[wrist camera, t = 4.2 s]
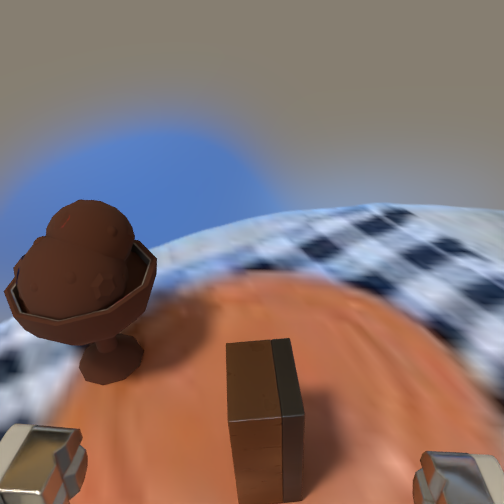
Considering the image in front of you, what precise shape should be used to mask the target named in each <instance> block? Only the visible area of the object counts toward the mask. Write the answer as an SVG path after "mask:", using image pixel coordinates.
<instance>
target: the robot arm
mask: <svg viewBox="0 0 504 504" xmlns="http://www.w3.org/2000/svg"><path fill="white" fill-rule="evenodd" d="M82 438H83V437H82V434H81V431H80V429H76V428H64V427H51V426H39V425H28V424H14V425H13V426H12V427H11V428H10V429H9V430H8V431H7V432H6V434H5V435H4V437H3V438H2V440H1V442H0V504H70V502H69V500H70V499H71V498H73V497H74V496H75V495H76V494H77V493H78V492H80V489H81V487H82V484H83V482H84V479H85V475H86V470H87V466H88V456H87V452H86V449H84V448H83V447H82V446H81V445H80V443H81V441H82ZM420 462H421V465H422V468H421V469H420V470H418V471H417V472H415V476H414V479H413V499H414V504H504V473H503V471H502V468H501V466H500V464H499V462H498V460H497V459H496V458H495V457H494V456H492V455H482V454H468V453H456V452H436V451H425V452H424V453H423V454H422V456H421V459H420Z"/></svg>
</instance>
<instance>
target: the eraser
mask: <svg viewBox="0 0 504 504" xmlns="http://www.w3.org/2000/svg"><path fill="white" fill-rule="evenodd" d="M226 369H227V410H228V427H229V434H230V442H231V449H232V457H233V464H234V472H235V479H236V487H237V494H238V502H239V504H275V503H283V502H295V501H301V500H302V481H303V453H304V425H305V412H304V407H303V402H302V397H301V392H300V387H299V382H298V377H297V372H296V367H295V362H294V357H293V351H292V346H291V341H290V338H285V339H273V340H260V341H248V342H236V343H226Z"/></svg>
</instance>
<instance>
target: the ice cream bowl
mask: <svg viewBox="0 0 504 504" xmlns="http://www.w3.org/2000/svg"><path fill="white" fill-rule="evenodd" d="M134 239H135V235H134V232H133V228H132V226H131V224H130V223H129V221H128V219H127V218H126V217H125V215H123V214H122V213H121V212H120V211H119V210H117V208H115V207H112V206H110V205H108V204H106V203H104V202H101V201H95V200H78V201H76V202H74V203H72V204H70V205H67V206H65V207H63V208H62V209H60V210H59V211H58V212H57V213H56V214H55V215H54V216H53V217H52V219H51V220H50V222H49V224H48V226H47V229H46V236H42V237H39V238H37V239H36V240H35V241H34V243H33V245H32V247H31V248H30V249H29V251H28V252H27V253H26V254H25V255H24V256H22V258H21V259H20V260H19V261H18V263H17V264H16V265H15V267H14V275H15V277H14V279H13V280H12V281H11V283H10V284H9V285H8V287H7V288H6V289H5V291H4V293H5V296H6V298H7V301H8V304H9V306H10V309H11V311H12V314H13V317H14V318H15V319H16V320H17V321H18V322H19V324H20V325H21V326H22V327H23V328H24V329H25V330H26V331H28V332H30V333H31V334H33V335H35V336H36V337H38V338H43V339H47V340H51V341H56V342H60V343H64V344H69V345H85V344H89V343H93V342H94V343H93V344H92V345H90V346H89V347H88V348H86V349H85V352H84V354H83V356H82V359H81V361H80V365H79V368H80V370H81V372H82V374H83V376H84V378H85V380H86V381H89V382H93V383H97V384H101V385H105V384H109V383H112V382H116V381H120V380H123V379H125V378H126V377H127V376H129V375H130V374H131V373H132V372H133V371H134V370H136V369H137V368H138V367H139V366H140V363H141V360H142V356H143V352H144V350H143V349H142V347H141V346H140V345H139V343H138V342H137V340H136V339H135V338H134V337H132V336H128V335H123V334H119V332H121V331H122V330H123V329H125V328H126V327H127V326H128V325H130V324H131V323H132V322H134V321H135V320H136V319H137V318H138V317H139V316H140V315H142V314H143V313H144V312H145V310H146V307H147V303H148V300H149V297H150V294H151V290H152V287H153V284H154V280H155V277H156V272H157V258H156V257H155V256H154V255H153V254H152V253H151V252H150V251H149V250H148V249H147V248H146V247H145V246H144V245H143V244H142V243H141V242H140V241H138V240H134Z"/></svg>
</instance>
